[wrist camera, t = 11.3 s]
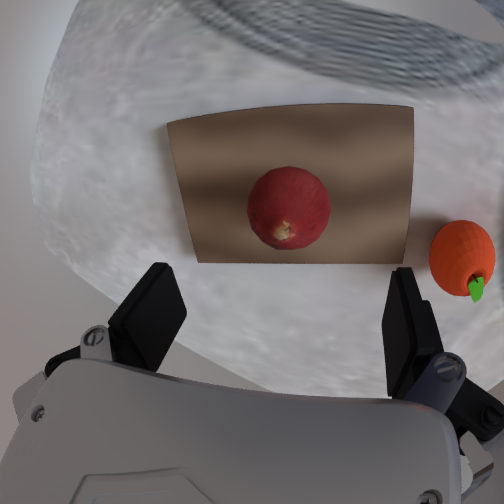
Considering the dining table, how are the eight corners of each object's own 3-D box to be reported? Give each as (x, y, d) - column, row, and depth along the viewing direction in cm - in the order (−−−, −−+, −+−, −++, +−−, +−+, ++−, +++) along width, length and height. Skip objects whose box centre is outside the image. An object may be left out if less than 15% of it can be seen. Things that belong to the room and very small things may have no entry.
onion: (305, 233, 25) (297, 293, 18) (247, 200, 24) (216, 250, 18) (342, 180, 22) (351, 226, 15) (279, 142, 21) (258, 171, 15)
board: (176, 120, 24) (166, 123, 22) (406, 106, 19) (413, 107, 17) (204, 252, 31) (197, 262, 29) (398, 252, 26) (402, 263, 24)
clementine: (483, 258, 24) (510, 299, 18) (432, 284, 27) (450, 331, 21) (468, 196, 21) (504, 231, 15) (411, 226, 24) (434, 269, 18)
